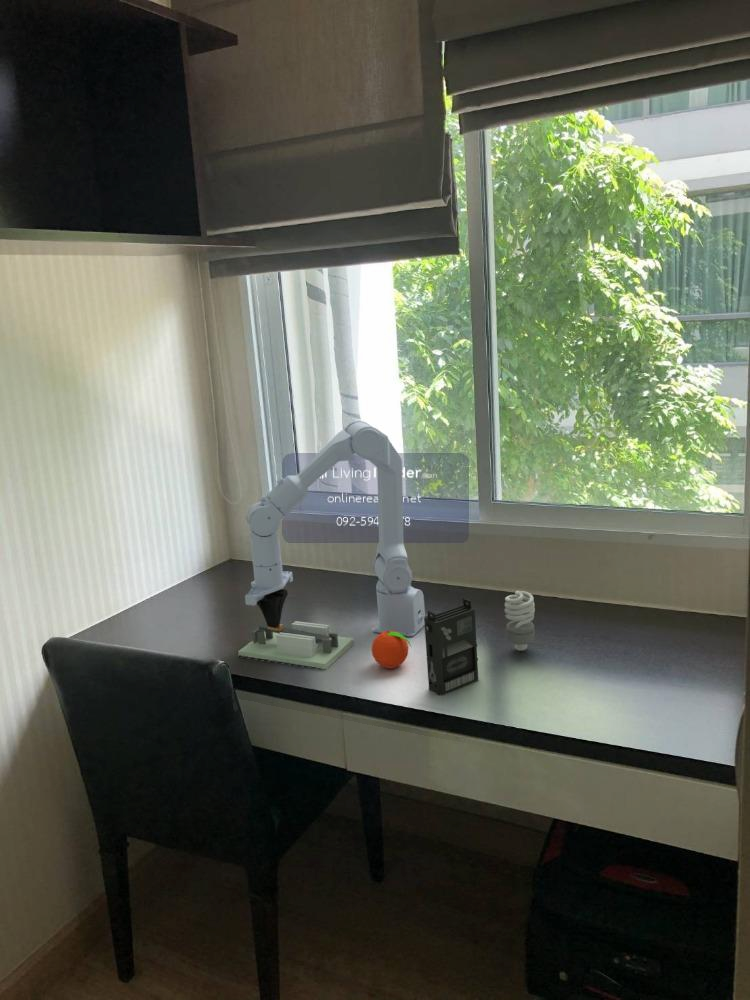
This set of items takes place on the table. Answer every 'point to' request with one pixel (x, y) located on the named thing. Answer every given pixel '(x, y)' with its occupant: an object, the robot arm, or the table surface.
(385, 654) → the clementine
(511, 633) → the light bulb
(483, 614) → the table surface
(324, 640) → the heatsink board
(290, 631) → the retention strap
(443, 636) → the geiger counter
